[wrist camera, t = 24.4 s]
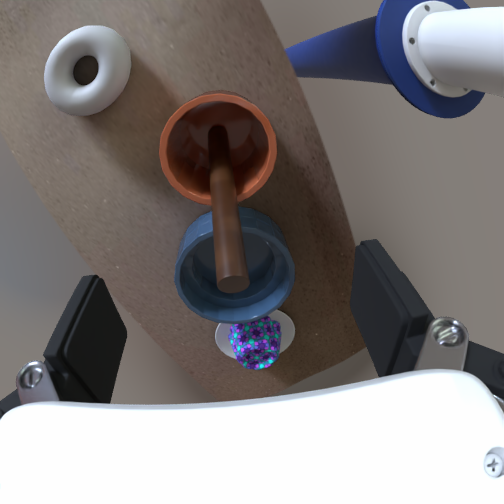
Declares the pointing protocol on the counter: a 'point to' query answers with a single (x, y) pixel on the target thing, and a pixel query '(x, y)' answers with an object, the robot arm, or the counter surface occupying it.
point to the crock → (196, 145)
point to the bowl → (258, 263)
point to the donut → (107, 80)
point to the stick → (225, 216)
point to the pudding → (256, 340)
